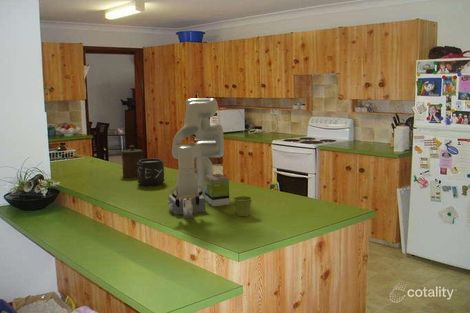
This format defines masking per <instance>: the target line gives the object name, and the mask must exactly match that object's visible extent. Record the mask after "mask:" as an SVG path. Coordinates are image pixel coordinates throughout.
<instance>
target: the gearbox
mask: <svg viewBox="0 0 470 313" xmlns="http://www.w3.org/2000/svg"><path fill="white" fill-rule="evenodd" d="M176 194H177V193H176V192H175V195H176ZM167 197H168V200H167V201H166V203H167V204H166V205H167V206H168V209H169V210H170V211H171V212H172V213H173V215H175V216H176V215H183V199H185V198H186V197H189V198H191V199H193V214H194V213H202V212H203V213H204V212H206V200H205V196H202V195H201V196H200V197H199V201H200V203H199V205H196V200H195V197H196V195H195V194H191V195H181V196H180V197H179V205H180V207H177V206H176V202H175V198H174V197H173V196H172V195H171V194H170V195H168V196H167Z"/></svg>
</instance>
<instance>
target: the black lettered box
mask: <svg viewBox="0 0 470 313" xmlns="http://www.w3.org/2000/svg"><path fill="white" fill-rule="evenodd" d="M137 166H138V167H137V175H138V177H137V184H138V185H139V186H142V187H149V188H150V187H158V186H159V187H160V186H162V185H164V183H165V166H164V161H163V159H161V158H143V160H139V161H138V163H137Z"/></svg>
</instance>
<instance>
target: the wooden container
mask: <svg viewBox="0 0 470 313" xmlns="http://www.w3.org/2000/svg"><path fill="white" fill-rule="evenodd" d="M121 159H122V161H121V164H122V167H121V168H122V177H123V178H138V175H137V167H138V166H137V163H138V161H139V160H143V159H144V156H143V149H138V148H137V149H136V148H135V145H133V144H131V145H129V149H123V150H121Z"/></svg>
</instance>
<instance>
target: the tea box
mask: <svg viewBox="0 0 470 313" xmlns="http://www.w3.org/2000/svg"><path fill="white" fill-rule="evenodd" d="M204 191H205V196H204V198H205V202H207V203H208V204H210V206H212V207H219V206H228V205H230V202H231V201H230V179H229V178H228V177H226V176H224V175H223V174H221V173H215V174H214V173H213V174H212V175H204Z"/></svg>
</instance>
